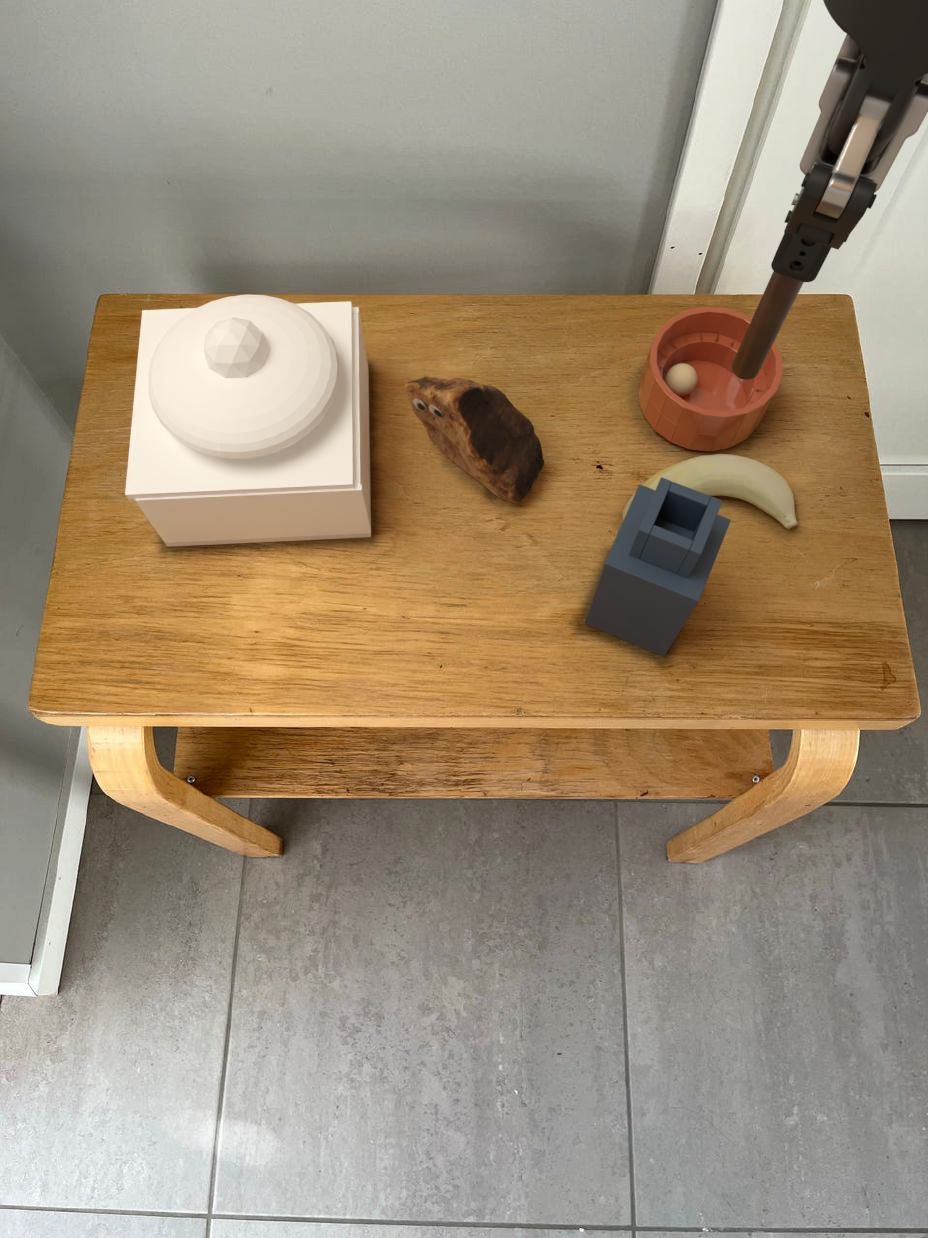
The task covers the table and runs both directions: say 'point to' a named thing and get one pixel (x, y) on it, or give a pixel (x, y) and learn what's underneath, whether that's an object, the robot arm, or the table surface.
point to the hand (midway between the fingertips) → (799, 254)
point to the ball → (681, 379)
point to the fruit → (732, 483)
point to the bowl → (706, 381)
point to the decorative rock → (479, 433)
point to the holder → (658, 565)
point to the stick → (765, 325)
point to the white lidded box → (252, 422)
